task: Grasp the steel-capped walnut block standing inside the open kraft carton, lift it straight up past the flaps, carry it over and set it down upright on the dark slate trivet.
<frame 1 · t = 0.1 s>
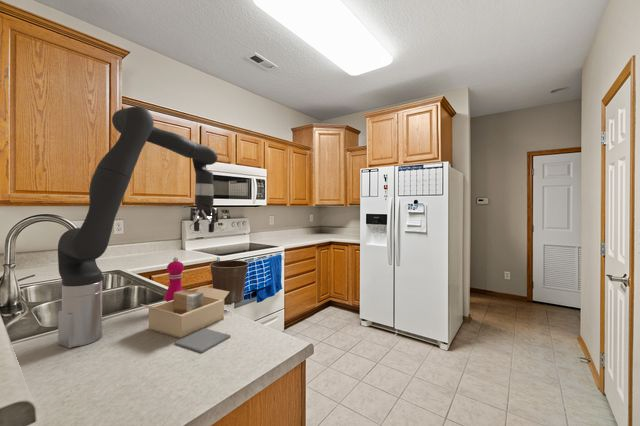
hand: (203, 231, 125), 29 cm above the worktop, fingers open, 8 cm apart
pepper mill: (175, 308, 113), on the worktop
trivet: (203, 340, 87), on the worktop
block: (188, 321, 99), point 1 cm above the worktop, touching carton
plant pot: (229, 301, 123), on the worktop
carton: (188, 323, 99), on the worktop
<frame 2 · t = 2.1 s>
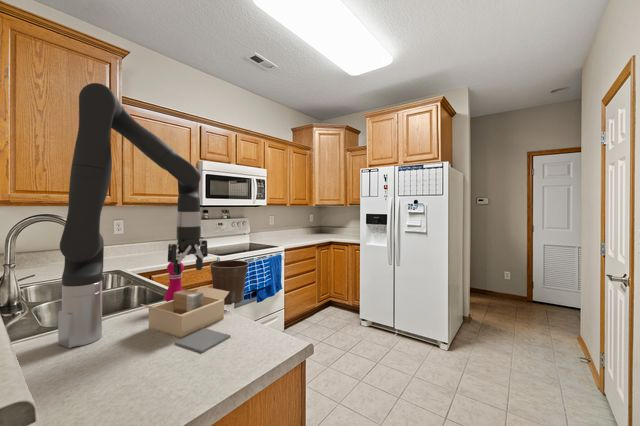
hand: (188, 272, 98), 18 cm above the worktop, fingers open, 8 cm apart
nothing on the worktop moved.
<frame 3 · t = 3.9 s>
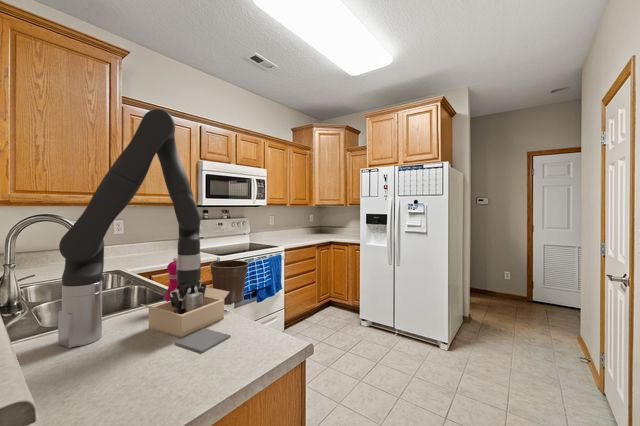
hand: (188, 316, 99), 3 cm above the worktop, fingers closed on block, 4 cm apart
block: (188, 321, 99), point 1 cm above the worktop, touching carton, gripper
everything else where it was.
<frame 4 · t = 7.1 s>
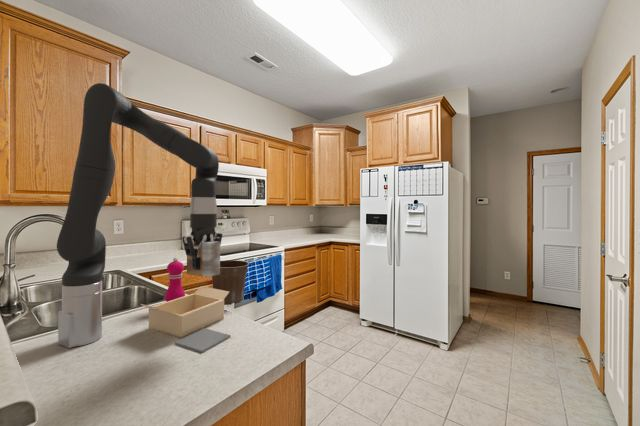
hand: (203, 267, 88), 22 cm above the worktop, fingers closed on block, 4 cm apart
block: (203, 274, 88), point 20 cm above the worktop, touching gripper
everything else where it was.
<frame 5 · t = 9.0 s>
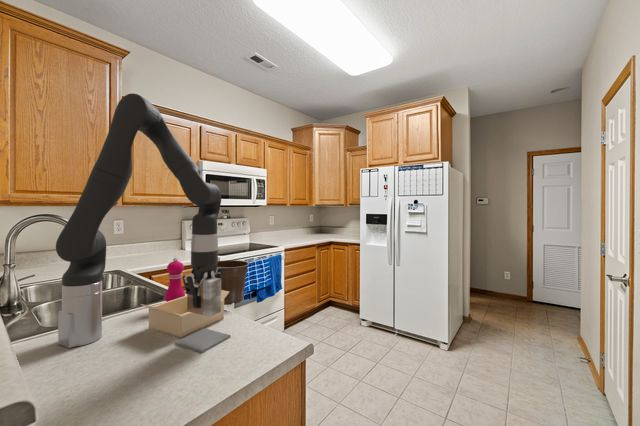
hand: (204, 305, 86), 11 cm above the worktop, fingers closed on block, 4 cm apart
block: (204, 311, 86), point 9 cm above the worktop, touching gripper
everything else where it was.
when the fingers open (4 cm above the worktop, at t = 10.5 s): block drops 1 cm, resting on trivet.
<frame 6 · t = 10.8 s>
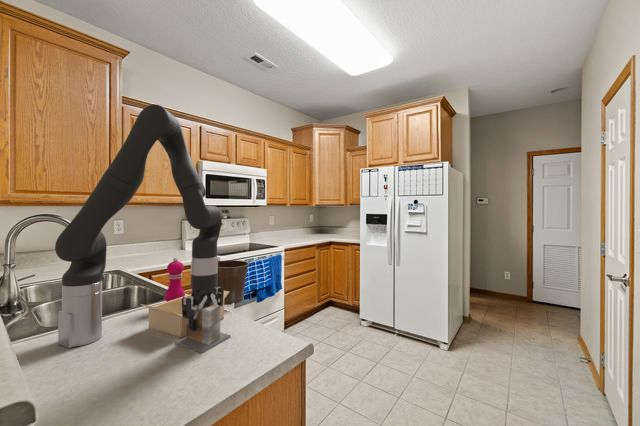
hand: (203, 326, 86), 4 cm above the worktop, fingers open, 7 cm apart
block: (203, 338, 86), point 1 cm above the worktop, touching trivet
everything else where it was.
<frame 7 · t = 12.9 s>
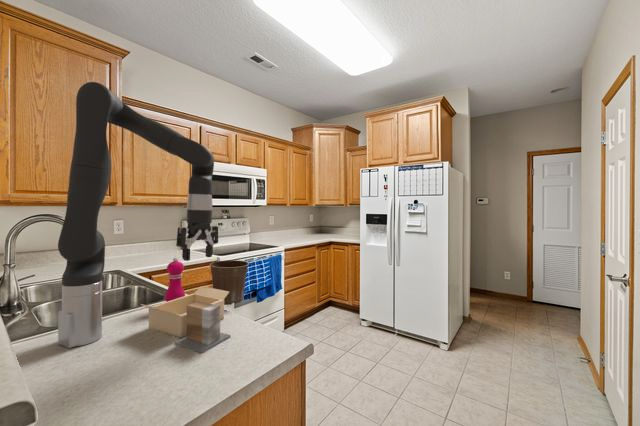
hand: (198, 258, 93), 23 cm above the worktop, fingers open, 8 cm apart
nothing on the worktop moved.
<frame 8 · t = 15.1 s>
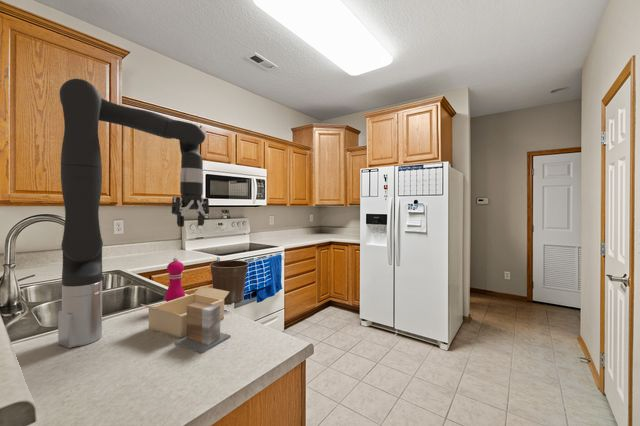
hand: (191, 226, 105), 33 cm above the worktop, fingers open, 8 cm apart
nothing on the worktop moved.
at the end: block inside the target area on the trivet (0.1 cm from its centre), point 0.6 cm above the trivet's base; block tilted 0°; the gripper is holding nothing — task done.
